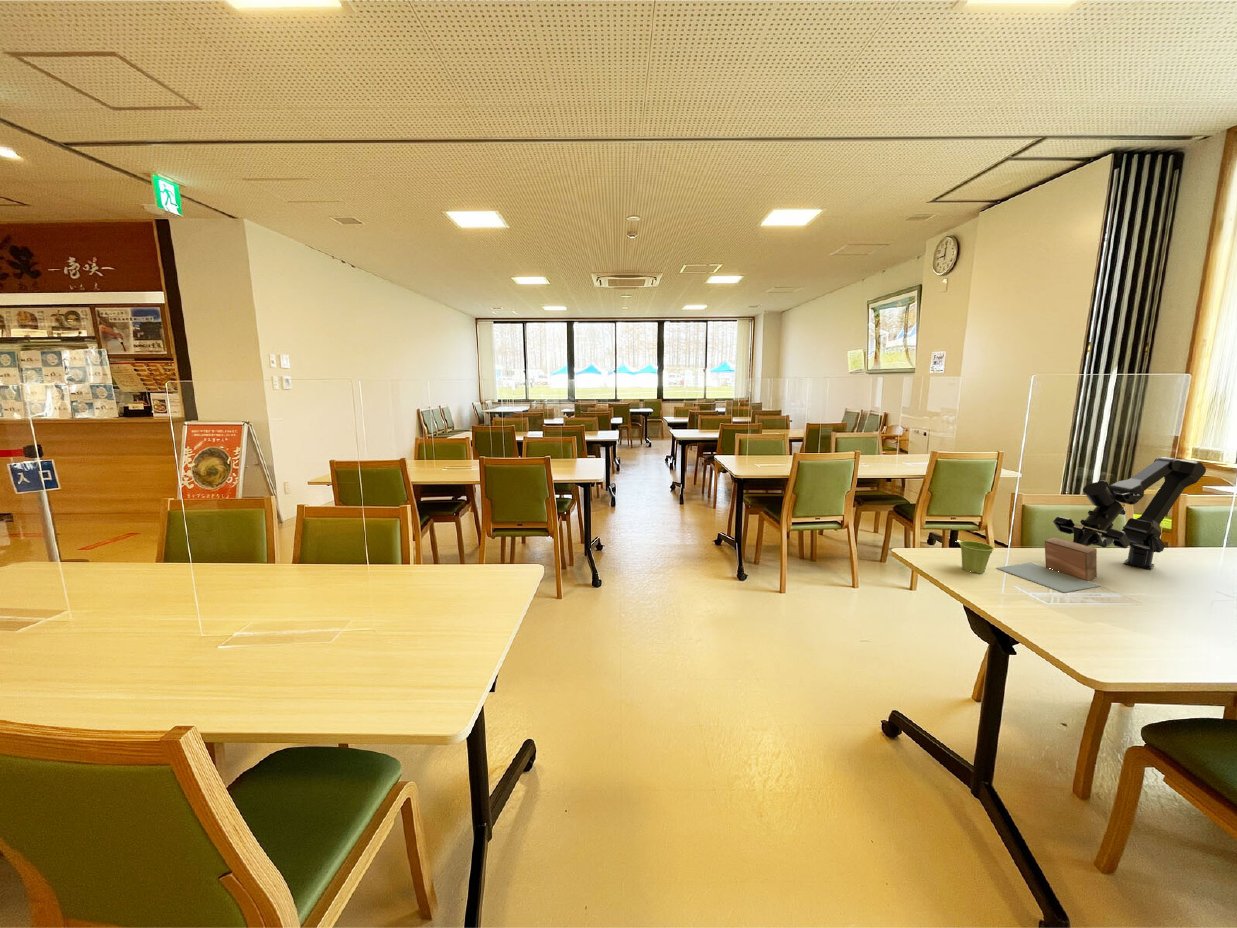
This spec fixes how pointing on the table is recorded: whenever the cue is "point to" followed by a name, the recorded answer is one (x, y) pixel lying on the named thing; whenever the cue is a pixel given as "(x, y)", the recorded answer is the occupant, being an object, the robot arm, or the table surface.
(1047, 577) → the mat
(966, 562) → the plant pot
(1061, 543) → the walnut block
